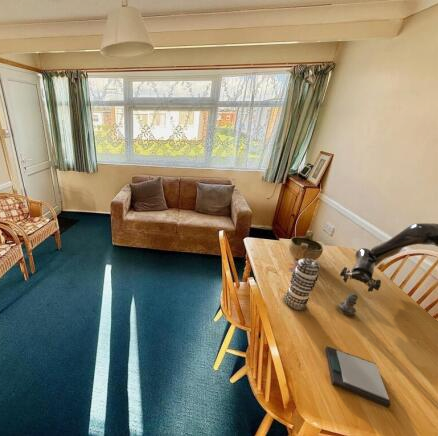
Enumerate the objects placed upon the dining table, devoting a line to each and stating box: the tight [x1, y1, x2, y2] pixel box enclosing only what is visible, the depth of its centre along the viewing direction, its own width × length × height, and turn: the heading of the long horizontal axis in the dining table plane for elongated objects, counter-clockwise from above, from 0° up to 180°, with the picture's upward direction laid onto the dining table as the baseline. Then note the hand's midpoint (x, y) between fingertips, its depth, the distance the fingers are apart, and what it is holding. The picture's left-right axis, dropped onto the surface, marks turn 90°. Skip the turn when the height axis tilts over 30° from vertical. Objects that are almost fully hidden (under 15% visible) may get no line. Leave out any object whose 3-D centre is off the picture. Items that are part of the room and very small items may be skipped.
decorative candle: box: [284, 258, 321, 311], centre depth 102 cm, size 9×9×25 cm
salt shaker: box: [338, 292, 358, 316], centre depth 100 cm, size 6×6×12 cm
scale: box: [324, 346, 392, 409], centre depth 77 cm, size 14×14×4 cm
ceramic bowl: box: [288, 230, 324, 261], centre depth 138 cm, size 22×17×15 cm
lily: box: [287, 259, 298, 273], centre depth 125 cm, size 12×12×10 cm
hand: (357, 285), depth 105 cm, fingers open, 8 cm apart
